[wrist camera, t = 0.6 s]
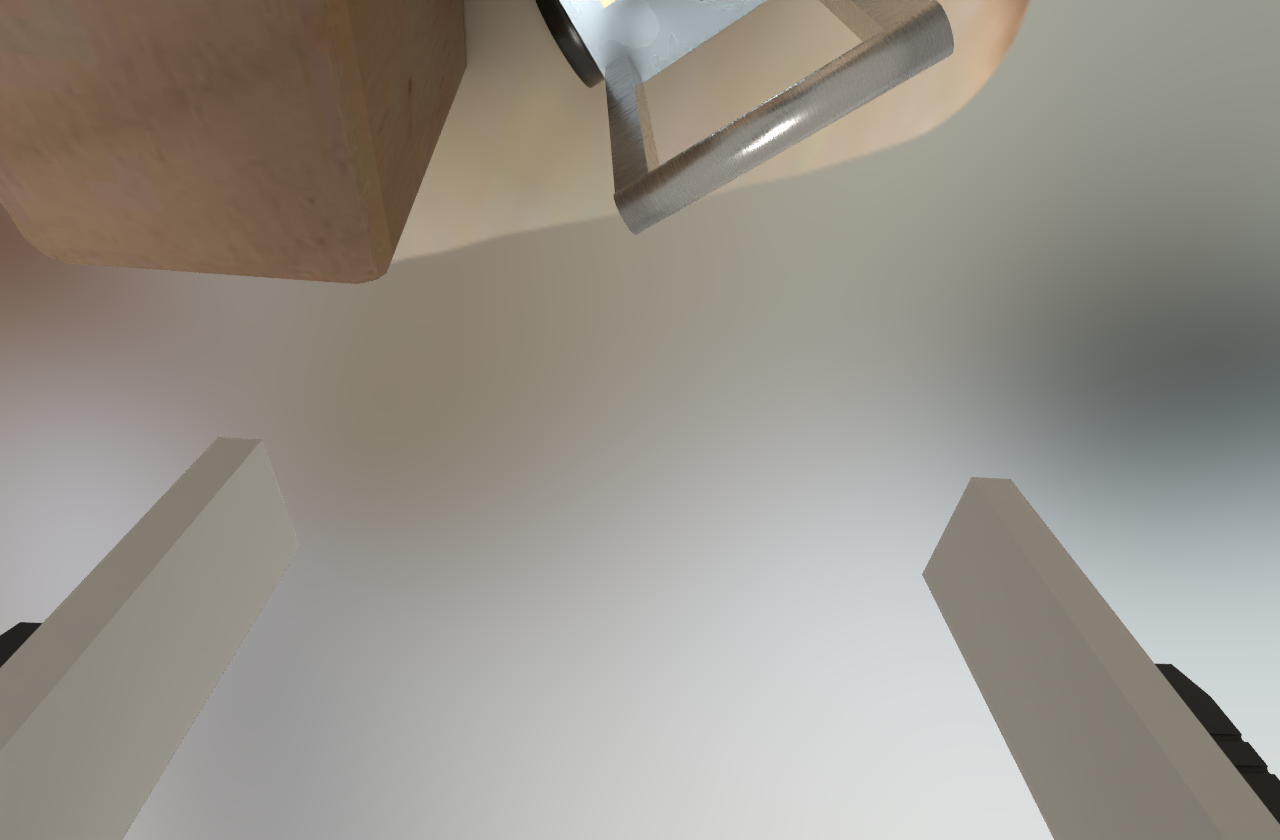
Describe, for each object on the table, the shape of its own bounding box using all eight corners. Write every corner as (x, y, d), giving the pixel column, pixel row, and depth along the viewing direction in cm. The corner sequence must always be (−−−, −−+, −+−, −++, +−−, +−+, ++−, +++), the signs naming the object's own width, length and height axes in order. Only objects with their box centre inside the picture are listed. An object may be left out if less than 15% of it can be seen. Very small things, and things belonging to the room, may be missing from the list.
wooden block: (470, 79, 33) (390, 299, 19) (270, 55, 31) (27, 274, 17) (454, -180, 25) (308, -126, 12) (193, -227, 24) (-318, -228, 10)
